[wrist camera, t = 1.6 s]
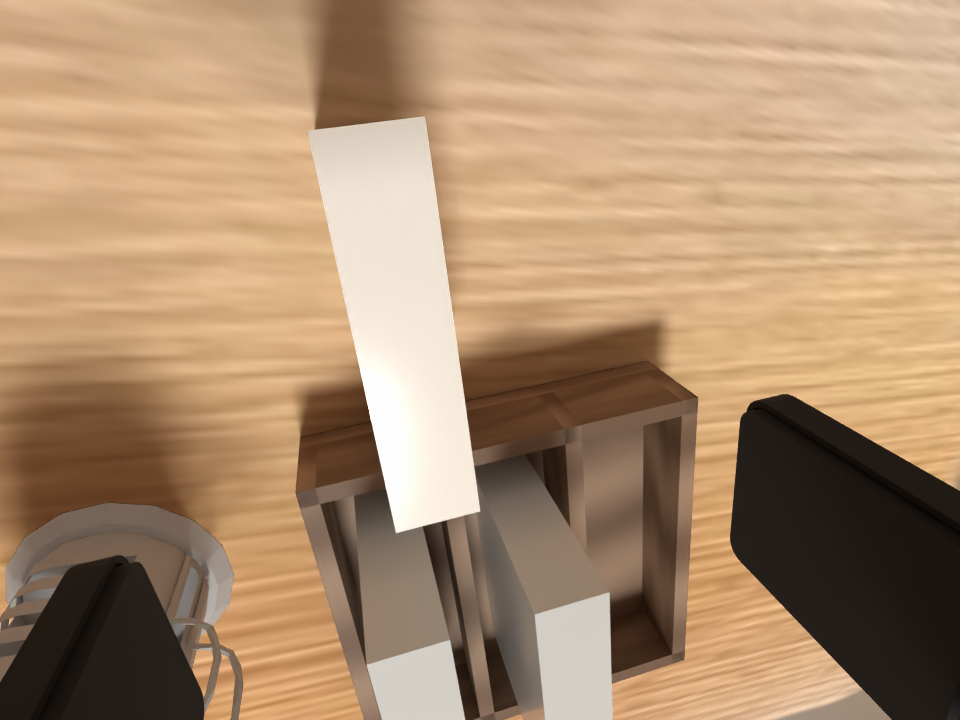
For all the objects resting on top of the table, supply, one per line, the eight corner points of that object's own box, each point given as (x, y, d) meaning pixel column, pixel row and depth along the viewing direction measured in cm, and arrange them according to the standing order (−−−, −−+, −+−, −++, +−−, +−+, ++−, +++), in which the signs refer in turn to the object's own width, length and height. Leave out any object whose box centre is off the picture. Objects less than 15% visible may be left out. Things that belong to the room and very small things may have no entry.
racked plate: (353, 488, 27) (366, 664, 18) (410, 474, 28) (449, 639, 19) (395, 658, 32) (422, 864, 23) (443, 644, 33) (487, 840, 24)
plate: (315, 129, 22) (307, 130, 13) (386, 121, 23) (425, 116, 14) (372, 398, 27) (395, 533, 18) (430, 386, 27) (480, 511, 18)
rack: (300, 437, 27) (295, 493, 23) (647, 361, 30) (698, 397, 26) (370, 686, 34) (376, 761, 30) (645, 602, 37) (684, 659, 33)
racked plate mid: (468, 460, 28) (534, 614, 19) (521, 447, 29) (609, 592, 20) (493, 629, 33) (554, 815, 24) (537, 616, 34) (614, 793, 25)
